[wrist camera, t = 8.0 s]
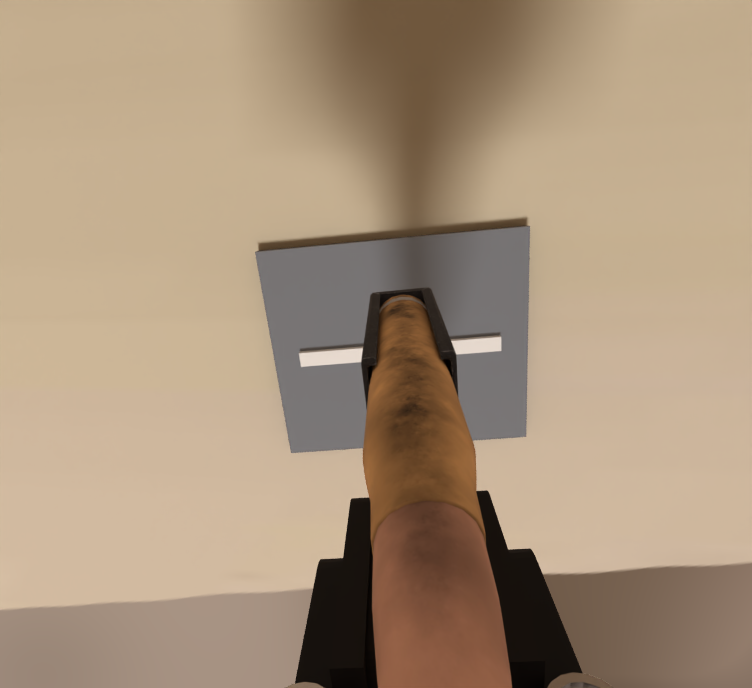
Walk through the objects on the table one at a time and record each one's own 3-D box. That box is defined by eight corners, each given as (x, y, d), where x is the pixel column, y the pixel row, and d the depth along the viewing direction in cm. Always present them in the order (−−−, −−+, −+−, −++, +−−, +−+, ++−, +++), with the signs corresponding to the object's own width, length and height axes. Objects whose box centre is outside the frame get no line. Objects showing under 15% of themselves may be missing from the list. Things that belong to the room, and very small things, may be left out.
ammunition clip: (449, 565, 16) (583, 1398, 5) (400, 567, 16) (422, 1388, 5) (431, 286, 13) (724, 910, 2) (370, 292, 13) (243, 914, 2)
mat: (526, 225, 22) (531, 226, 21) (523, 431, 26) (527, 439, 25) (258, 250, 23) (253, 252, 22) (293, 447, 27) (290, 455, 26)
